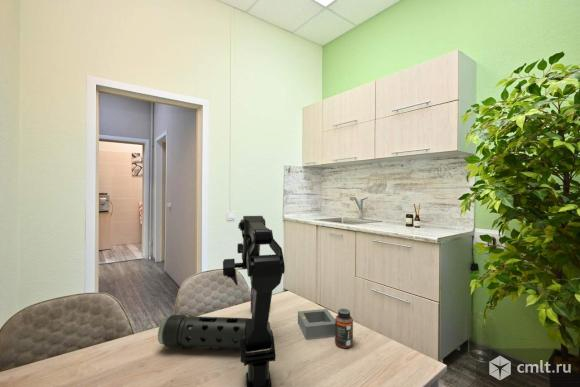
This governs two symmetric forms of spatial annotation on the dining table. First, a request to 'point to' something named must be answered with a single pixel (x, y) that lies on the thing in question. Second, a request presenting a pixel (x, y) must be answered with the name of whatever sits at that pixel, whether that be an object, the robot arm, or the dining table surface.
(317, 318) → the socket housing
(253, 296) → the beverage can
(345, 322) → the supplement bottle
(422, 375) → the dining table surface
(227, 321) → the muzzle brake
